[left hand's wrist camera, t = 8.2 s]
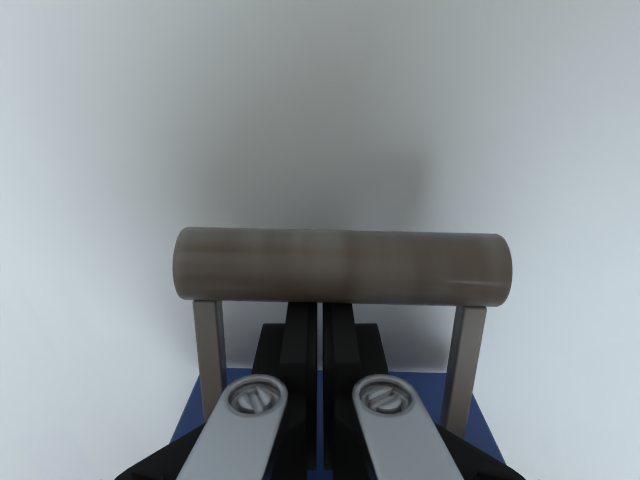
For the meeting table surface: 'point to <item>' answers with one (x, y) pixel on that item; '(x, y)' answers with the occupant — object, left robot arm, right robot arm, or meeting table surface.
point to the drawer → (346, 287)
